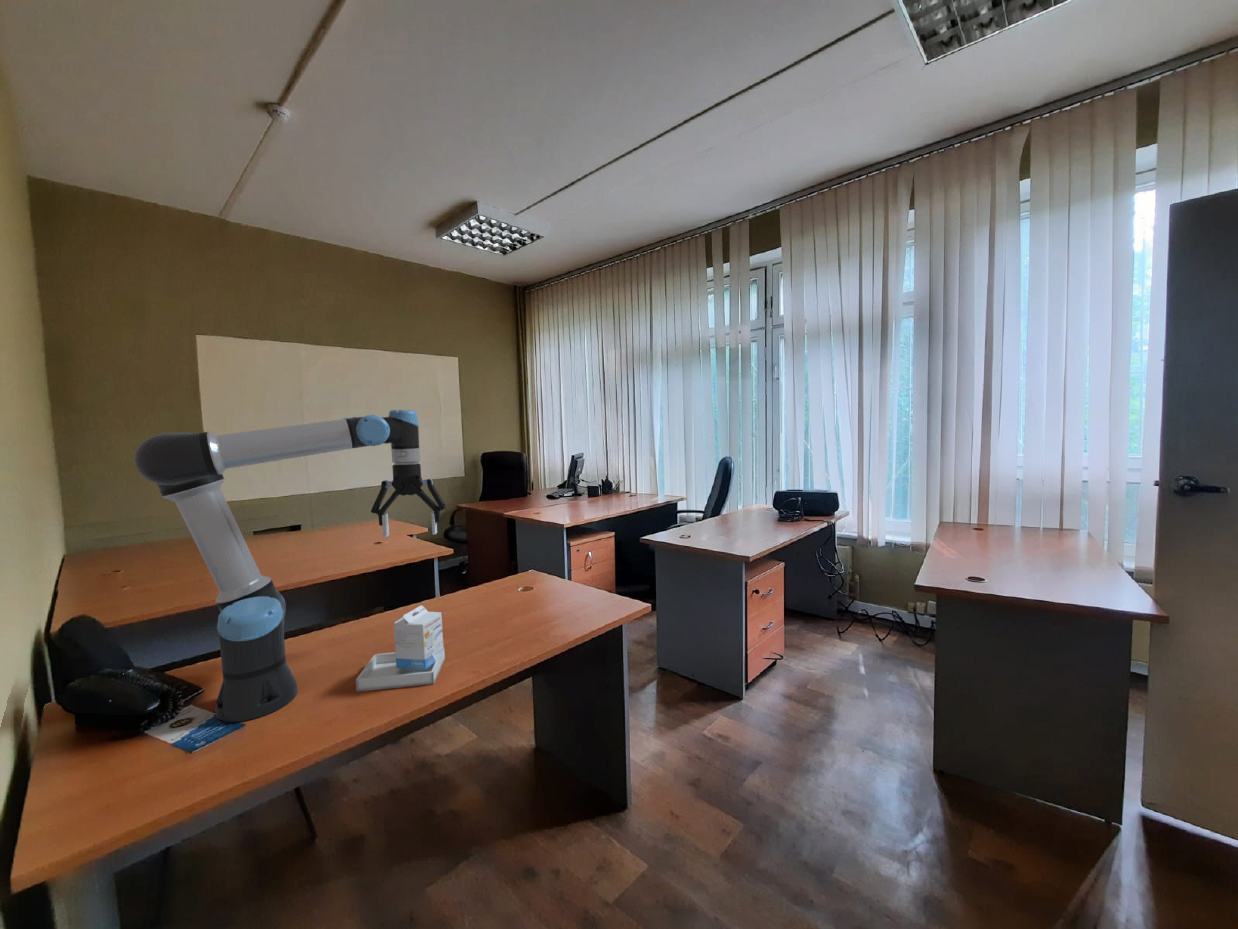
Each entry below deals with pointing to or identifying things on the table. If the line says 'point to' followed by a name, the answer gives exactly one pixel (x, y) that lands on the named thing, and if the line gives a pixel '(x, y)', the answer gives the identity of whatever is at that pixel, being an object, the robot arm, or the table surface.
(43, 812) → the table surface
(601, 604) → the table surface
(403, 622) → the ink box
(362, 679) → the caddy
